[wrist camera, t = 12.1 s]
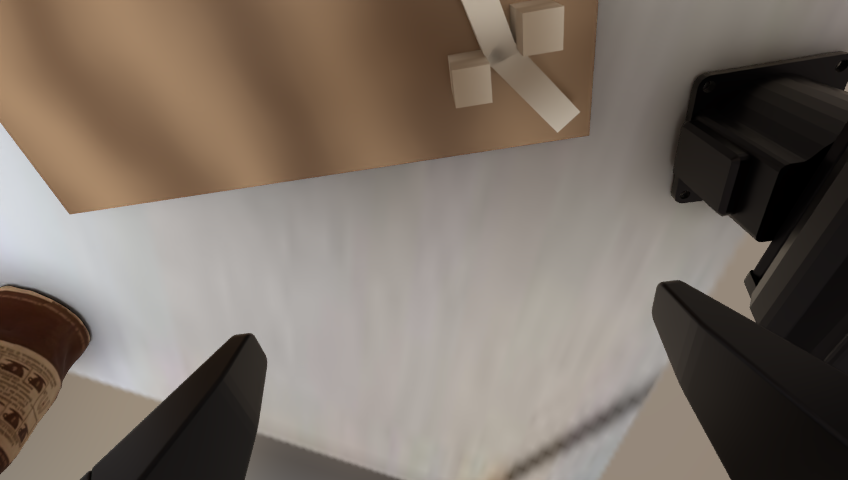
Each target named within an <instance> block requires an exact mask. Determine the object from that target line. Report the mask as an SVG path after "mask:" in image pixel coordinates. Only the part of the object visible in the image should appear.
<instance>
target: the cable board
mask: <svg viewBox="0 0 848 480" xmlns="http://www.w3.org/2000/svg"><path fill="white" fill-rule="evenodd" d="M597 13H598V0H0V123H1V124H2V125H3V127H4V128H5V129H6V131H7V132H8V133H9V135H10V136H11V137H12V138H13V140H14V141H15V142H16V144H17V145H18V146H19V148H20V149H21V150H22V152H23V153H24V154H25V156H26V157H27V158H28V160H29V161H30V162H31V164H32V165H33V166H34V168H35V169H36V170H37V172H38V173H39V174H40V176H41V177H42V178H43V180H44V181H45V182H46V184H47V185H48V186H49V188H50V189H51V190H52V192H53V193H54V194H55V196H56V197H57V198H58V200H59V201H60V202H61V204H62V205H63V206H64V208H65V209H66V210H67V212H68V213H69V214H76V213H82V212H89V211H95V210H102V209H108V208H115V207H122V206H128V205H135V204H141V203H148V202H155V201H161V200H168V199H174V198H181V197H187V196H194V195H201V194H207V193H214V192H220V191H227V190H233V189H240V188H247V187H253V186H260V185H266V184H273V183H280V182H286V181H293V180H299V179H306V178H312V177H319V176H326V175H332V174H339V173H345V172H352V171H359V170H365V169H372V168H378V167H385V166H391V165H398V164H405V163H411V162H418V161H424V160H431V159H438V158H444V157H451V156H457V155H464V154H470V153H477V152H484V151H490V150H497V149H503V148H510V147H517V146H523V145H530V144H536V143H543V142H549V141H556V140H563V139H569V138H576V137H582V136H589V130H590V115H591V101H592V86H593V71H594V57H595V42H596V27H597Z"/></svg>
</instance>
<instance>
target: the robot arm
mask: <svg viewBox="0 0 848 480" xmlns="http://www.w3.org/2000/svg"><path fill="white" fill-rule="evenodd" d="M840 61H841V64H840V65H839V66H838V67H837V68H836V66H837V64H838V63H839V62H840ZM709 81H710V85H709V87H708V88H707V89H705V90H703V87H704V85H705V84H706V83H707V82H709ZM847 82H848V53H847V52H834V53H828V54H821V55H815V56H809V57H803V58H796V59H790V60H784V61H778V62H771V63H765V64H759V65H753V66H746V67H740V68H734V69H728V70H721V71H715V72H709V73H705V74H702V75H701V76H699V77H698V78H697V79H696V80H695V82H694V84H693V87H692V92H691V97H690V102H689V107H688V112H687V117H686V122H685V123H684V125H683V126H682V128H681V133H680V138H679V144H678V149H677V154H676V159H675V164H674V169H673V173H674V174H675V177H674V181H673V186H672V191H671V196H672V197H673V198H674V199H675V200H676V201H677V202H679V203H688V202H695V201H702V200H704V201H705V202H706V203H707V204H708V205H709V206H710V207H711V208H712V209H713V210H715V211H716V212H717V213H718V214H719V215H721V216H727V215H728V216H730V217H731V218H732V219H733V220H734V221H735V222H736V223H737V224H739V225H740V226H741V227H742V228H743V229H744V230H745V231H746V232H748V233H749V234H750V235H751V236H752V237H754V239H755V240H757V241H758V242H766V241H772V242H771V244H770V245H769V247H768V248H767V250H766V252H765V253H764V255H763V256H762V258H761V259H760V261H759V263H758V264H757V266H756V268H755V269H754V270H751V271H750V272H749V273H748V275H747V276H746V278H745V280H744V283H745V286H746V288H747V291H748V293H749V295H750V298H751V302H750V309H751V312H752V314H753V316H754V319H755V321H756V323H755V322H753V321H752V320H750V319H748V318H746V317H745V316H743V315H741V314H739V313H737V312H736V311H734V310H732V309H730V308H729V307H727V306H725V305H723V304H722V303H720V302H718V301H716V300H714V299H713V298H711V297H709V296H707V295H706V294H704V293H702V292H700V291H699V290H697V289H695V288H693V287H692V286H690V285H688V284H686V283H684V282H682V281H680V280H674V281H666V282H661V283H659V284H658V285H657V288H656V293H655V297H654V302H653V307H652V317H653V320H654V323H655V325H656V328H657V330H658V333H659V335H660V338H661V340H662V343H663V345H664V348H665V350H666V353H667V355H668V358H669V360H670V363H671V365H672V367H673V370H674V372H675V375H676V377H677V379H678V382H679V384H680V386H681V388H682V390H683V392H684V394H685V396H686V397H687V399H688V401H689V403H690V405H691V407H692V409H693V411H694V412H695V414H696V416H697V418H698V420H699V422H700V423H701V425H702V427H703V429H704V431H705V433H706V435H707V436H708V438H709V440H710V442H711V444H712V446H713V447H714V449H715V451H716V453H717V455H718V456H719V458H720V460H721V462H722V464H723V466H724V468H725V469H726V471H727V473H728V475H729V477H730V479H731V480H848V92H846V91H844V89H845V86H846V84H847ZM683 191H686V192H685V193H684V194H683V195H680V194H681V193H682V192H683ZM266 370H267V358H266V355H265V353H264V352H263V350H262V348H261V346H260V345H259V343H258V341H257V339H256V337H255V336H254V335H253V334H251V333H246V334H238V335H234V336H232V337H231V338H230V339H229V340H228V341H227V342H226V343H225V344H223V345H222V346H221V347H220V348H219V349H218V350H217V351H216V352H215V353H214V354H213V355H212V356H211V357H210V358H209V359H208V360H206V361H205V362H204V363H203V364H202V365H201V366H200V367H199V368H198V369H197V370H196V371H195V372H194V373H193V374H192V375H191V376H189V377H188V378H187V379H186V380H185V381H184V382H183V383H182V384H181V385H180V386H179V387H178V388H177V389H176V390H175V391H174V392H172V393H171V394H170V395H169V396H168V397H167V398H166V399H165V400H164V401H163V402H162V403H161V404H160V405H159V406H158V407H157V408H155V409H154V411H152V412H151V413H150V414H149V415H148V416H147V417H146V418H145V419H144V420H143V421H142V422H141V423H140V424H139V425H138V426H136V427H135V428H134V429H133V430H132V431H131V432H130V433H129V434H128V435H127V436H126V437H125V438H124V439H123V440H122V441H120V442H119V443H118V444H117V445H116V446H115V447H114V448H113V449H112V450H111V451H110V452H109V453H108V454H107V455H106V456H104V457H103V458H102V459H101V460H100V461H99V462H98V463H97V464H96V465H95V466H94V467H93V469H92V471H89V472H87V473H86V474H85V475H84V476H83V477H82V478H81V479H80V480H245V476H246V472H247V468H248V464H249V461H250V457H251V453H252V449H253V445H254V442H255V437H256V433H257V429H258V423H259V418H260V411H261V404H262V397H263V390H264V384H265V377H266Z"/></svg>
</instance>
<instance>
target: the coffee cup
mask: <svg viewBox="0 0 848 480" xmlns="http://www.w3.org/2000/svg"><path fill="white" fill-rule="evenodd" d="M89 342H90V336H89V332H88V330H87V329H86V327H85V326H84V324H83V323H82V321H81V320H80V319H79V318H78V317H77V316H76V315H75V314H74V313H72V312H71V311H70V310H68V309H67V308H66V307H64V306H62V305H61V304H59V303H57V302H56V301H54V300H52V299H49V298H47V297H45V296H42V295H40V294H38V293H36V292H33V291H30V290H24V289H20V288H16V287H13V286H3V287H0V474H1V473H2V472H3V471H4V470H5V469H6V468H7V467H8V466H9V465H10V464H11V463H12V461H13V460H14V459H15V458H16V456H17V455H18V454H19V452H20V450H21V449H22V447H23V445H24V444H25V442H26V441H27V440H28V438H29V436H30V435H31V433H32V432H33V430H34V429H35V427H36V425H37V423H38V422H39V421H40V420H41V419H42V417H43V416H44V414H45V413H46V412H47V411H48V410H49V408H50V406H51V405H52V404H53V402H54V401H55V399H56V398H57V395H58V393H59V391H60V389H61V387H62V381H63V379H64V377H65V375H66V374H67V372H68V370H69V369H70V368H71V366H72V365H73V364H74V362H75V361H76V360H78V358H79V357H80V356H81V355H82V354H83V352H84V351H85V349H86V348H87V346H88V345H89Z"/></svg>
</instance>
